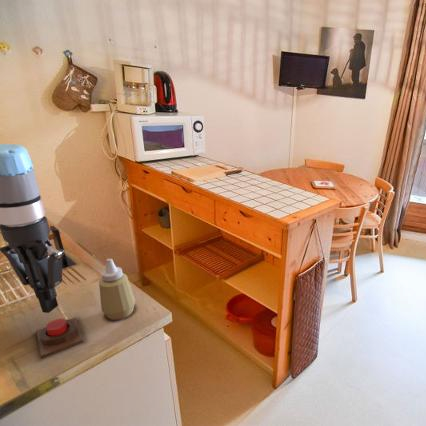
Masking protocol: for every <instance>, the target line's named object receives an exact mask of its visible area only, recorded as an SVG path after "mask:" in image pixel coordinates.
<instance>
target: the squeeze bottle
mask: <svg viewBox="0 0 426 426" xmlns="http://www.w3.org/2000/svg"><path fill="white" fill-rule="evenodd" d="M98 286H99V297H100V308H101V311H102V313H103V314H104V315H105V317H107V318H108V320H112V321H118V320H122V319H125V318H127V317H129V316H130V315H131V314H133V311H134V308H135V304H136V298H135V296H134V292H133V289H132V286H131V283H130V280H129V277H128V275H127V274H126V273H123V269H122V267H120V266H116V264H115V263H114V260H113V258H112V257H111V258H110V257H109V258H107V259H106V262H105V269H104V270H102V271H101V278H100V280H99V281H98Z"/></svg>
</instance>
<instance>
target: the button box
mask: <svg viewBox="0 0 426 426" xmlns="http://www.w3.org/2000/svg"><path fill="white" fill-rule="evenodd" d="M65 320H66V321H67V324H68V330H67V331H65V332H64V333H62V334H60V335H57V336H49V335H48V334H47V331H46V326H45V327H43V328H41V329H38V330H36V335H37V336H36V337H37V341H38V348H39V353H40V358H41V359H44V358H48V357H50V356H52V355H54V354H57V353H60V352H62V351H65V350H67V349H69V348H72V347H75V346H77V345H80V344H82V343H84V339H83V335H82V331H81V330H80V326H79V322H78V320H77V317H76V316H75V317H72V318H70V319H69V318H68V319H65Z"/></svg>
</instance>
